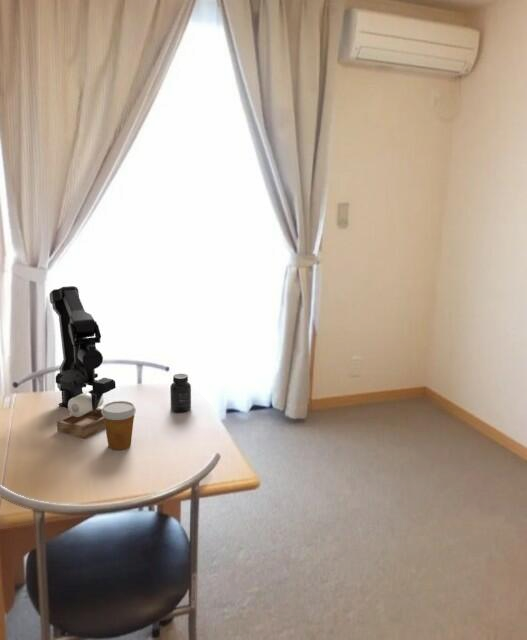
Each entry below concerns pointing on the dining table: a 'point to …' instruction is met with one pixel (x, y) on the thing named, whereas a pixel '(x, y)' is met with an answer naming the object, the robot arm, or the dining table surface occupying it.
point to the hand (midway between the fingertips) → (86, 407)
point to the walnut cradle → (82, 424)
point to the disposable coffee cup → (119, 424)
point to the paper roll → (82, 404)
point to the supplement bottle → (180, 394)
